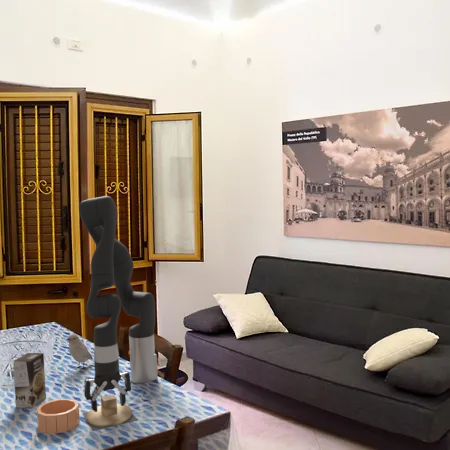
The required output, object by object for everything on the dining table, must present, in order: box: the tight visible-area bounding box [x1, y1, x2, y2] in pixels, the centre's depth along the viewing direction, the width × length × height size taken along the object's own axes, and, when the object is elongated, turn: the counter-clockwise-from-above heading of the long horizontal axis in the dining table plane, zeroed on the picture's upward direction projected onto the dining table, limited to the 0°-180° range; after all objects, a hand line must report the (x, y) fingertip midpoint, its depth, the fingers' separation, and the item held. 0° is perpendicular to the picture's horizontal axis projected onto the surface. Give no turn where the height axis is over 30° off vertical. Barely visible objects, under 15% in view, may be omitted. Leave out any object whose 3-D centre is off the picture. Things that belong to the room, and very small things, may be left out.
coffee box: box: [12, 352, 47, 409], centre depth 181 cm, size 9×6×16 cm
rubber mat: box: [81, 403, 138, 432], centre depth 168 cm, size 14×14×1 cm
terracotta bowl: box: [36, 398, 81, 434], centre depth 164 cm, size 12×12×6 cm
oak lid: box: [86, 393, 133, 428], centre depth 168 cm, size 14×14×6 cm
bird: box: [65, 333, 94, 370], centre depth 214 cm, size 5×14×15 cm, turn 148°
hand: (108, 408), depth 168 cm, fingers open, 8 cm apart
